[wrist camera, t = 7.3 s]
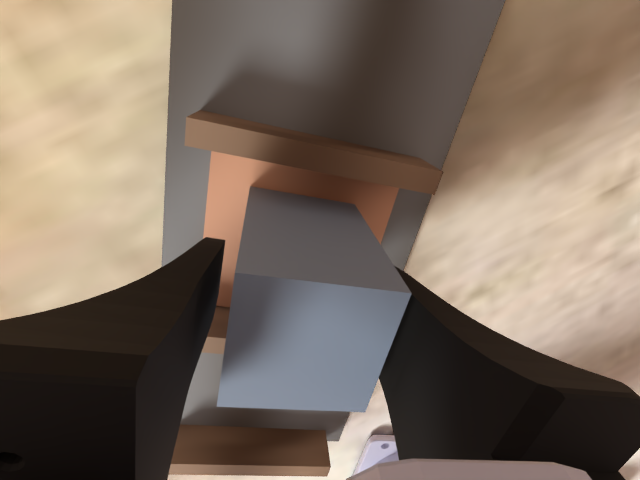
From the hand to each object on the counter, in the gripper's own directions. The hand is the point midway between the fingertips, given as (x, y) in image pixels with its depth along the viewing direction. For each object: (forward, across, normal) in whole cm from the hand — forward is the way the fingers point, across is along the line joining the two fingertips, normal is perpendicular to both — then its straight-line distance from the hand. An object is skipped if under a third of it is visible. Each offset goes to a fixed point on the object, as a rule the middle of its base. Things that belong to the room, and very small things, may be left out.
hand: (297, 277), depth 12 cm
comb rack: (+3, 0, 0) cm, 3 cm away
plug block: (+2, 0, 0) cm, 2 cm away
